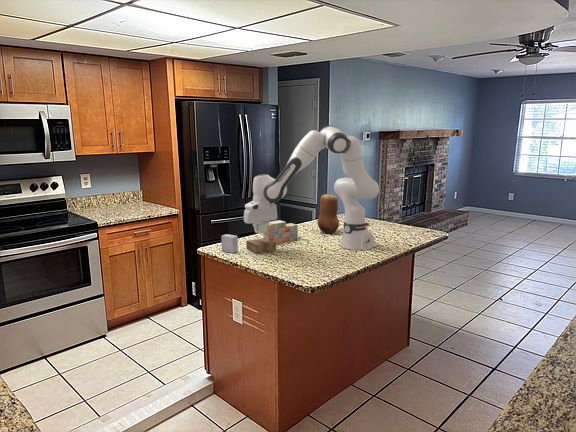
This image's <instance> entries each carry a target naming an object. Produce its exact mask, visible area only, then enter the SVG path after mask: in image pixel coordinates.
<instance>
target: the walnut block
mask: <svg viewBox="0 0 576 432" xmlns="http://www.w3.org/2000/svg"><path fill="white" fill-rule="evenodd" d="M246 250H248V251H250V252H251V253H253V254H255V255H260V254H267V253H268V254H269V253H274V252H277V244H276V243H275V242H273V241H271V240H269V239H267V238H263V237H262V238H255V239H250V240H249V239H248V240H246Z"/></svg>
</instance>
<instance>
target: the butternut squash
mask: <svg viewBox="0 0 576 432" xmlns="http://www.w3.org/2000/svg"><path fill="white" fill-rule="evenodd" d="M319 202H320V203H319V205H320V207H319V216H318V218H317V226H318V228H319V230H320V232H323V233H325V234H328V235H329V234H333V233H335V232H337V230H338V228H339V226H340V221H339V217H338V209H339V200H338V197H337V196H336V195H333V194H330V193H329V194H326V193H325V194H323V195H321V197H320V201H319Z"/></svg>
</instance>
